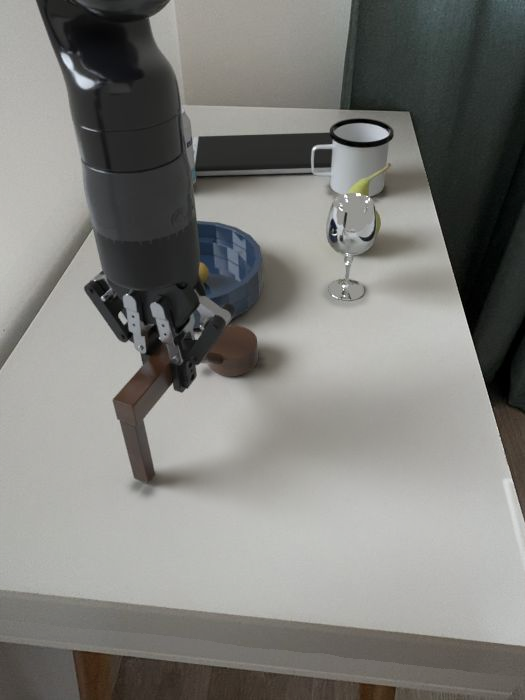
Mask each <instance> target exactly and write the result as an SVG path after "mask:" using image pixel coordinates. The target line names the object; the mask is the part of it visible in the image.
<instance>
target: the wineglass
mask: <svg viewBox="0 0 525 700" xmlns="http://www.w3.org/2000/svg"><path fill="white" fill-rule="evenodd" d="M375 209H376V205H375V201H374V200H373V198H371V197H368V196H366V195H363V194H357V193H347V194H342V195H340V194H338V195H337V196H336V197H335V198H334V199H333V200H332V202H331V206H330V208H329V211H328V214H327V215H328V216H327V220H326V227H325V228H326V229H325V230H326V231H325V232H326V240H327V243H328V244H329V246H330V248H332V250H333V251H335V252H336V253H339V254H341V255H342V256H343V255H345V256H344V259H343V260H344V264H345V275H344V278H339V279H335V280H333V281H331V283H329V285H328V287H327V290H328V291H327V292H328V293H329V295H330V296H332V297H333V298H334V299H337V300H341V301H355V300H358V299H360V298H361V297H362V296H363V295H364V294H365V288H364V286H363V285H362V284H361V282H359V281H357V280H354V279H350V270H351V267H352V264H353V261H354V256H358V255H362V254H363V253H365V252H367V251H368V250H369V249H371V247H373V244H374V242H375V240H374V239H376V238H375V236H376V231H377V219H376V211H377V209H376V210H375ZM376 237H377V236H376Z"/></svg>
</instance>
